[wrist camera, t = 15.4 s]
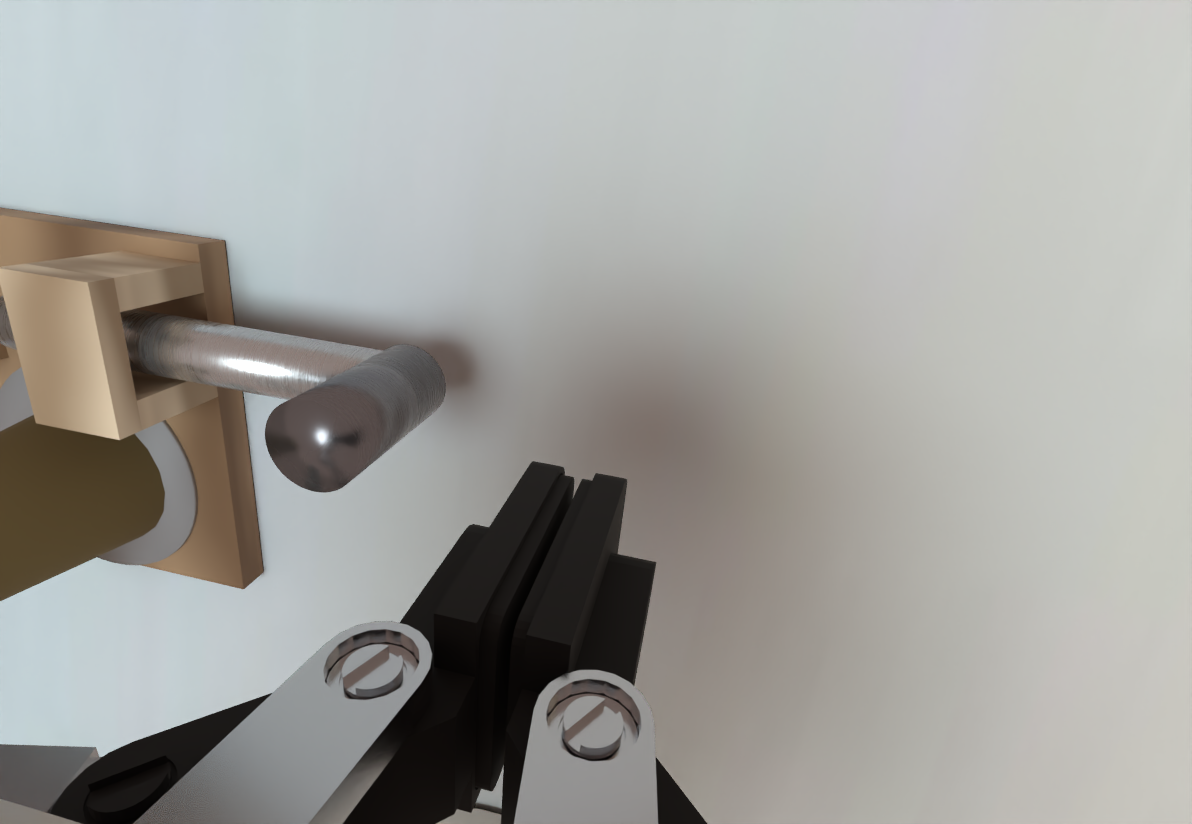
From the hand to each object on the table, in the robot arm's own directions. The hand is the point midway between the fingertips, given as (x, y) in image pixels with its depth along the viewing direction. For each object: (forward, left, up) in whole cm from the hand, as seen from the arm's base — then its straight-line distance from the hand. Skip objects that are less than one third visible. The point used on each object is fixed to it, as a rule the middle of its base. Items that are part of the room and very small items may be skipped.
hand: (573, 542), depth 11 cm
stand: (+21, +5, -10) cm, 24 cm away
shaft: (+13, +1, -8) cm, 16 cm away
